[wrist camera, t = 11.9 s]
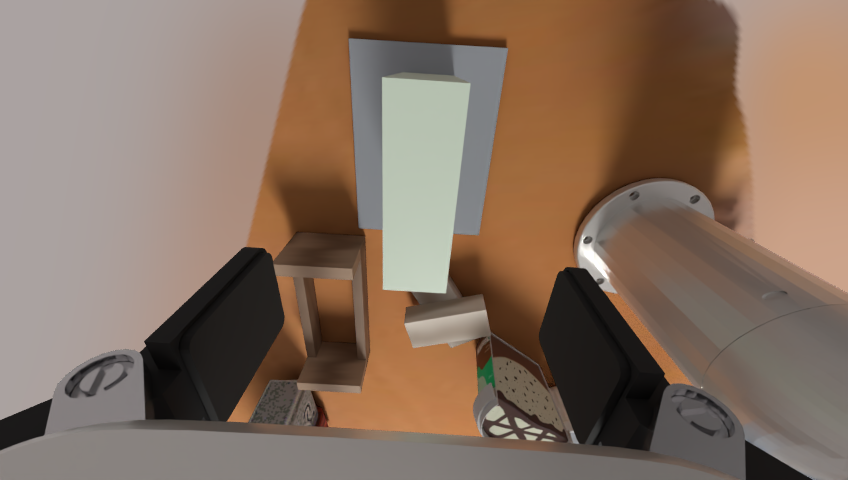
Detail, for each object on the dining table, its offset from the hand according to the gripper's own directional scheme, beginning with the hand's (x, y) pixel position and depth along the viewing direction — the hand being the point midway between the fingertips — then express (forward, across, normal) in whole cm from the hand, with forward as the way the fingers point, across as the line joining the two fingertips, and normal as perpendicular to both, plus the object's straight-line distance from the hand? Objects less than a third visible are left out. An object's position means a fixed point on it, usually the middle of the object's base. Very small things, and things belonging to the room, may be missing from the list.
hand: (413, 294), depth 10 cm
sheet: (+20, 0, 0) cm, 20 cm away
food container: (+20, -11, +26) cm, 35 cm away
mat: (+20, 0, 0) cm, 20 cm away
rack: (+20, +9, +17) cm, 28 cm away
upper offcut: (+18, -3, +17) cm, 25 cm away
